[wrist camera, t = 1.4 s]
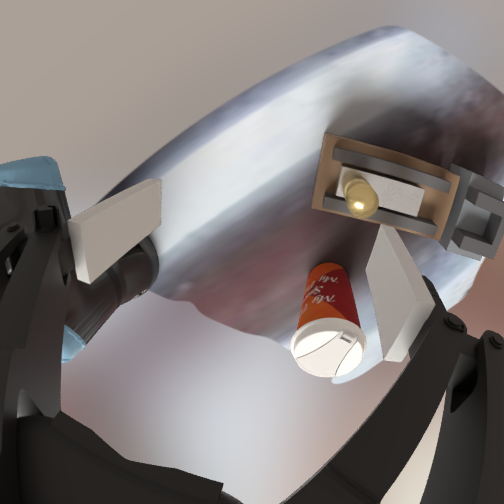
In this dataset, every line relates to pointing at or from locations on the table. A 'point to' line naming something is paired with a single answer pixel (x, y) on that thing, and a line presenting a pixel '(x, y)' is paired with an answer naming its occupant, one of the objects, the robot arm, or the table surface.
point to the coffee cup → (328, 325)
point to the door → (394, 165)
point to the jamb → (474, 216)
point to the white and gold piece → (376, 192)
